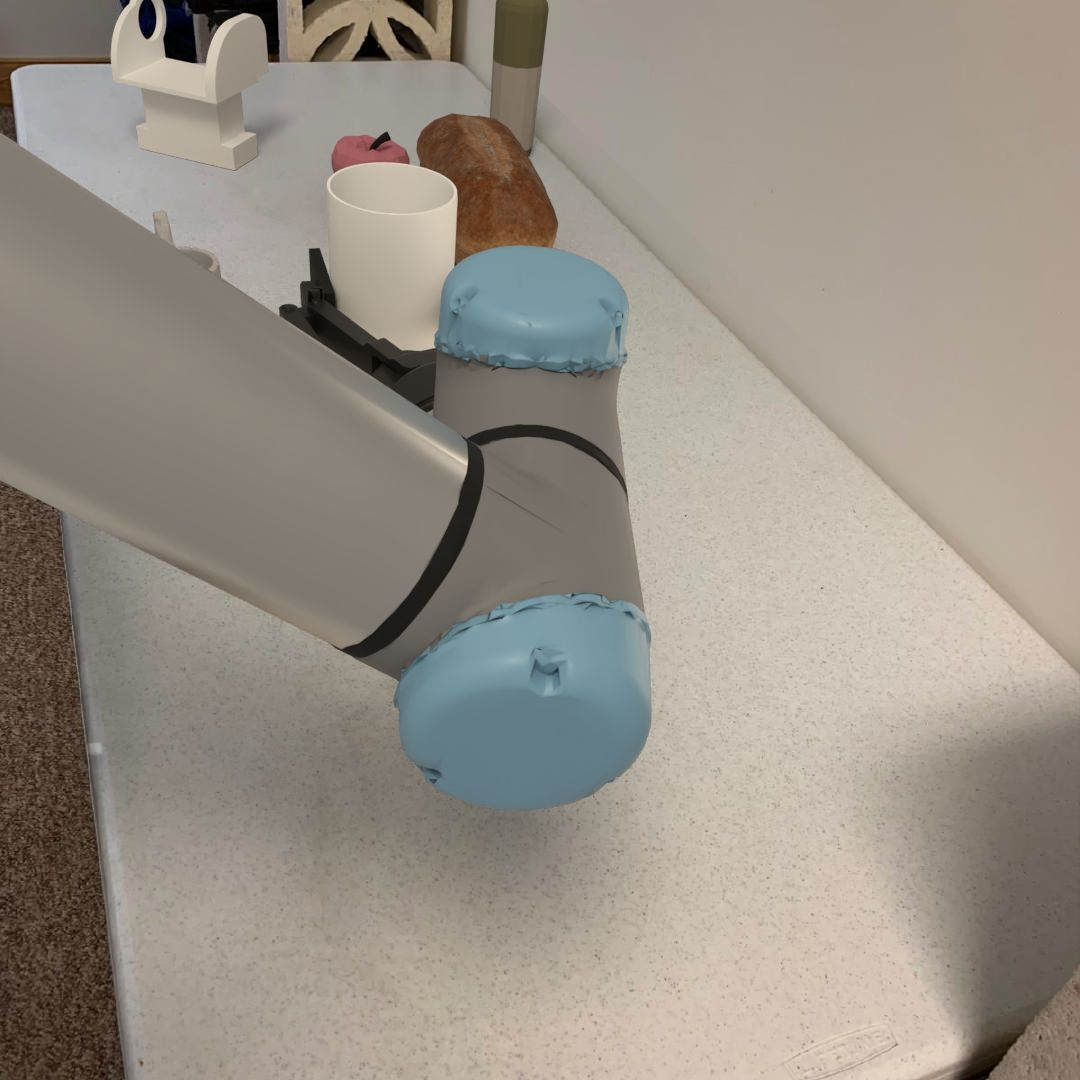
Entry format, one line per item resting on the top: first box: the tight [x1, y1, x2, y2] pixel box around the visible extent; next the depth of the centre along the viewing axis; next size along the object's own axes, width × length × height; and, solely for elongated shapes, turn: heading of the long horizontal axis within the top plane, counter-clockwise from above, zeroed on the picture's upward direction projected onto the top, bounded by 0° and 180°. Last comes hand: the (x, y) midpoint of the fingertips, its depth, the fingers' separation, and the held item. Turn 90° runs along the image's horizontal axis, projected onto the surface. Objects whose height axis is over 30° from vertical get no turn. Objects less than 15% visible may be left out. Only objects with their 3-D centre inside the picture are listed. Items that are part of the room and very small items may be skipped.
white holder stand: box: [110, 0, 270, 171], centre depth 126 cm, size 14×13×18 cm
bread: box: [415, 112, 559, 264], centre depth 111 cm, size 12×28×14 cm, turn 15°
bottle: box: [489, 0, 550, 156], centre depth 133 cm, size 7×7×30 cm
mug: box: [152, 209, 222, 278], centre depth 92 cm, size 8×12×12 cm, turn 31°
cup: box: [325, 162, 458, 351], centre depth 68 cm, size 8×8×16 cm
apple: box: [330, 130, 411, 174], centre depth 120 cm, size 10×9×10 cm
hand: (378, 263), depth 71 cm, fingers closed on cup, 8 cm apart
